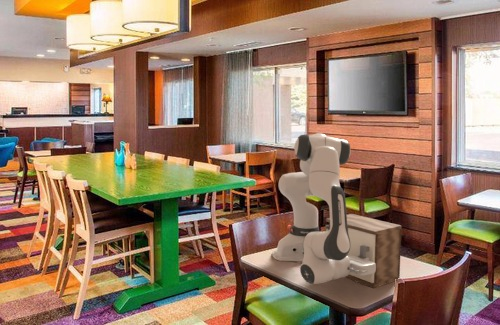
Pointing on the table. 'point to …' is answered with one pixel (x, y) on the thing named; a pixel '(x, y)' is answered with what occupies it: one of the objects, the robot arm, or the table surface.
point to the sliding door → (362, 249)
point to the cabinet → (379, 248)
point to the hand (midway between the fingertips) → (364, 258)
